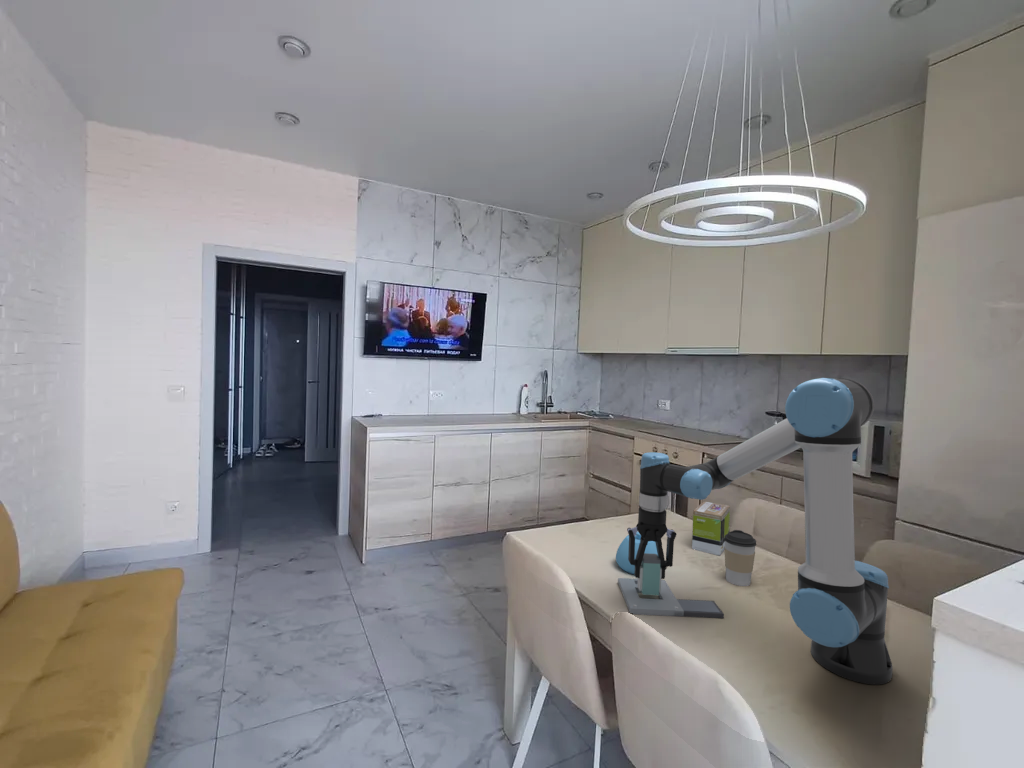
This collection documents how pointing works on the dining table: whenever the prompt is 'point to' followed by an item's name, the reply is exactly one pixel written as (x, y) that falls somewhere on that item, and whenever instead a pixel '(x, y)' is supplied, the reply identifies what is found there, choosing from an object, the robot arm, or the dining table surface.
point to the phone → (700, 608)
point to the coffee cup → (739, 557)
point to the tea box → (710, 527)
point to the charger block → (650, 574)
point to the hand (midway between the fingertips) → (649, 588)
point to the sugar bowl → (624, 551)
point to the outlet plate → (649, 600)
